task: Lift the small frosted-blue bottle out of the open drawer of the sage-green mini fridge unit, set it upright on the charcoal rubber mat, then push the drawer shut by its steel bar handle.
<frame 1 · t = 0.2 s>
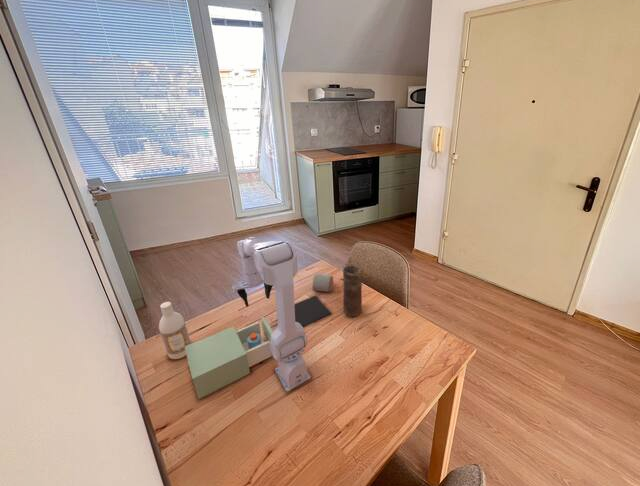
hand: (257, 301, 108), 10 cm above the table, tool pointing down, fingers open, 7 cm apart
bath foam: (180, 351, 99), on the table
drawer: (259, 340, 98), point 4 cm above the table, slide at 9.0 cm, touching bottle
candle: (352, 311, 119), on the table
mat: (305, 312, 117), on the table
bottle: (255, 348, 98), point 2 cm above the table, touching drawer
fridge unit: (220, 369, 93), on the table
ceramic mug: (323, 287, 132), on the table
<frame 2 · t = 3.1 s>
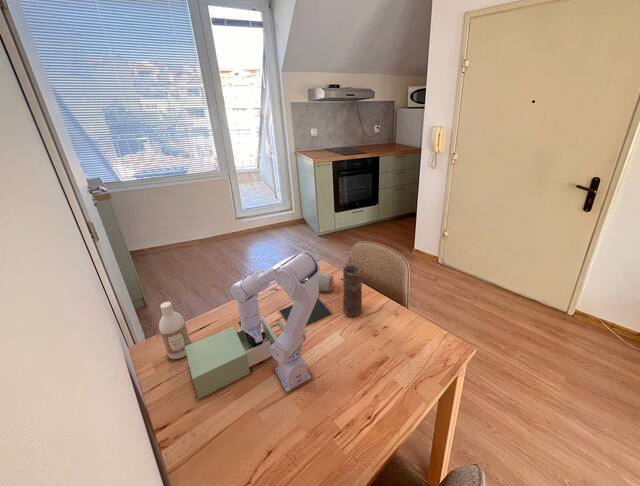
hand: (254, 343, 97), 4 cm above the table, tool pointing down, fingers closed on drawer, 6 cm apart
drawer: (259, 340, 98), point 4 cm above the table, slide at 9.0 cm, touching bottle, gripper
everything else where it was.
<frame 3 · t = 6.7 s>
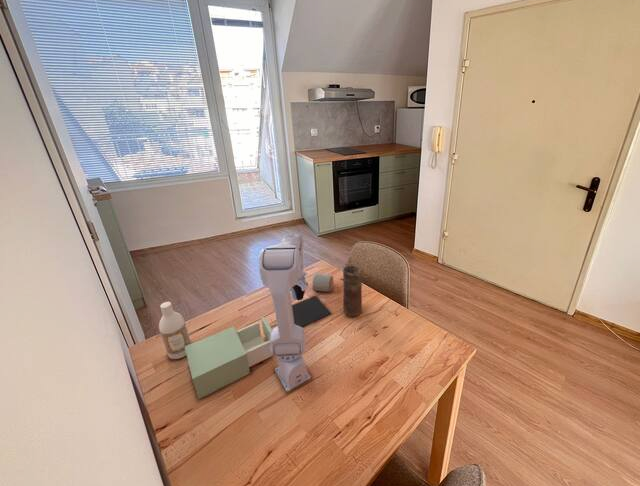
hand: (297, 296, 110), 10 cm above the table, tool pointing down, fingers closed on bottle, 4 cm apart
drawer: (259, 340, 98), point 4 cm above the table, slide at 9.0 cm
bottle: (297, 296, 110), point 10 cm above the table, touching gripper
everything else where it was.
when the fingers open (1 cm above the table, at t = 9.7 s): bottle stays where it is, resting on mat.
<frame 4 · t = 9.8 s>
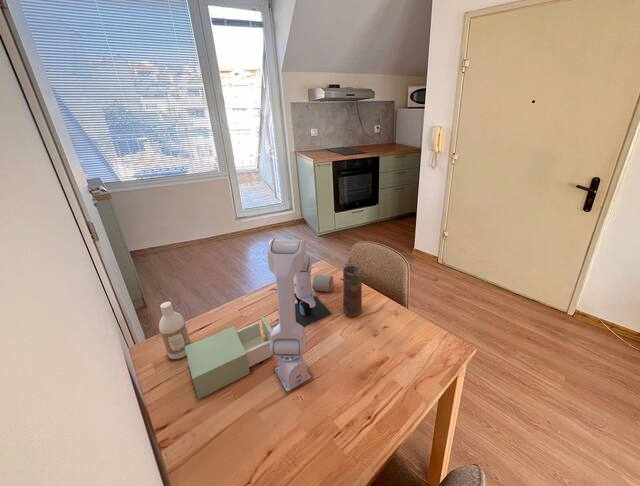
hand: (305, 311, 117), 1 cm above the table, tool pointing down, fingers open, 4 cm apart
bottle: (305, 311, 117), resting on mat
everything else where it was.
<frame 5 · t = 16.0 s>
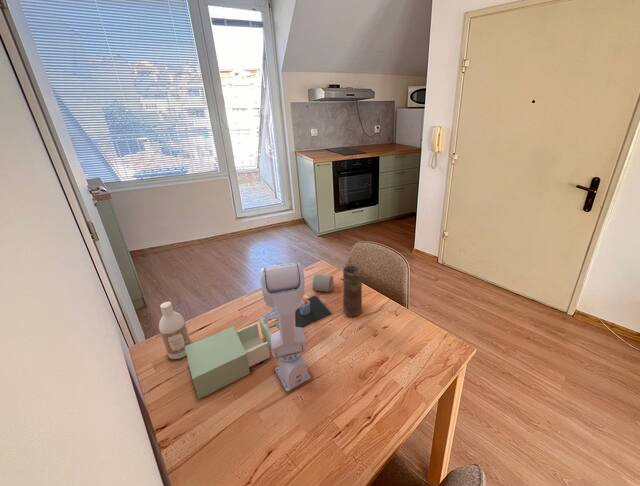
hand: (286, 329, 104), 4 cm above the table, tool pointing down, fingers closed
drawer: (257, 341, 98), point 4 cm above the table, slide at 8.4 cm, touching gripper
everything else where it was.
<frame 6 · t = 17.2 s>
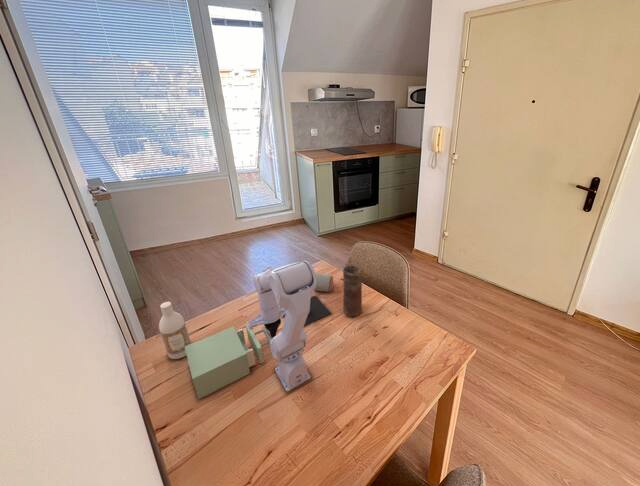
hand: (273, 335, 101), 4 cm above the table, tool pointing down, fingers closed
drawer: (242, 348, 95), point 4 cm above the table, slide at 3.6 cm, touching gripper
everything else where it was.
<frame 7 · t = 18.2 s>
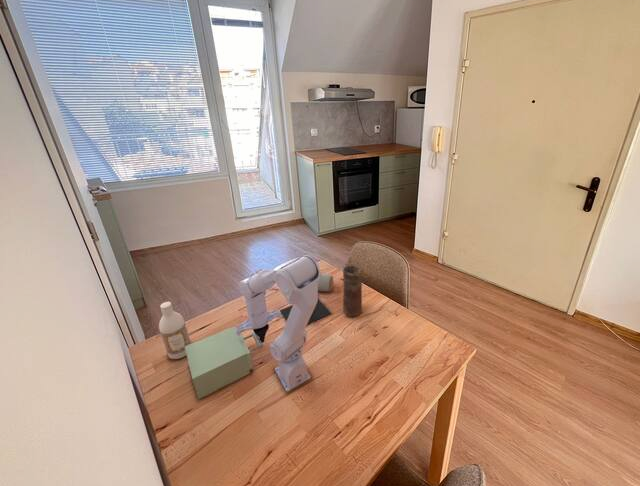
hand: (261, 340, 99), 4 cm above the table, tool pointing down, fingers closed, pressing on drawer
drawer: (231, 353, 93), point 4 cm above the table, slide at 0.0 cm, touching fridge unit, gripper
everything else where it was.
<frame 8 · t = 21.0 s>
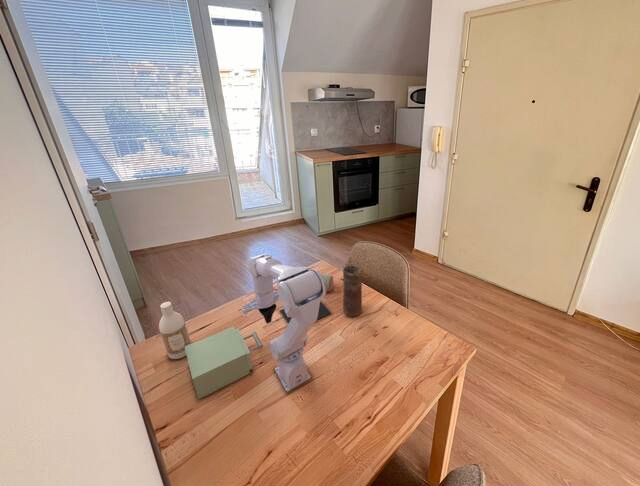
hand: (268, 321, 98), 10 cm above the table, tool pointing down, fingers closed
drawer: (231, 353, 93), point 4 cm above the table, slide at 0.0 cm, touching fridge unit
everything else where it was.
at the end: bottle inside the target area on the mat (0.0 cm from its centre), point 0.4 cm above the mat's base; bottle tilted 0°; drawer slide at 0.0 cm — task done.
